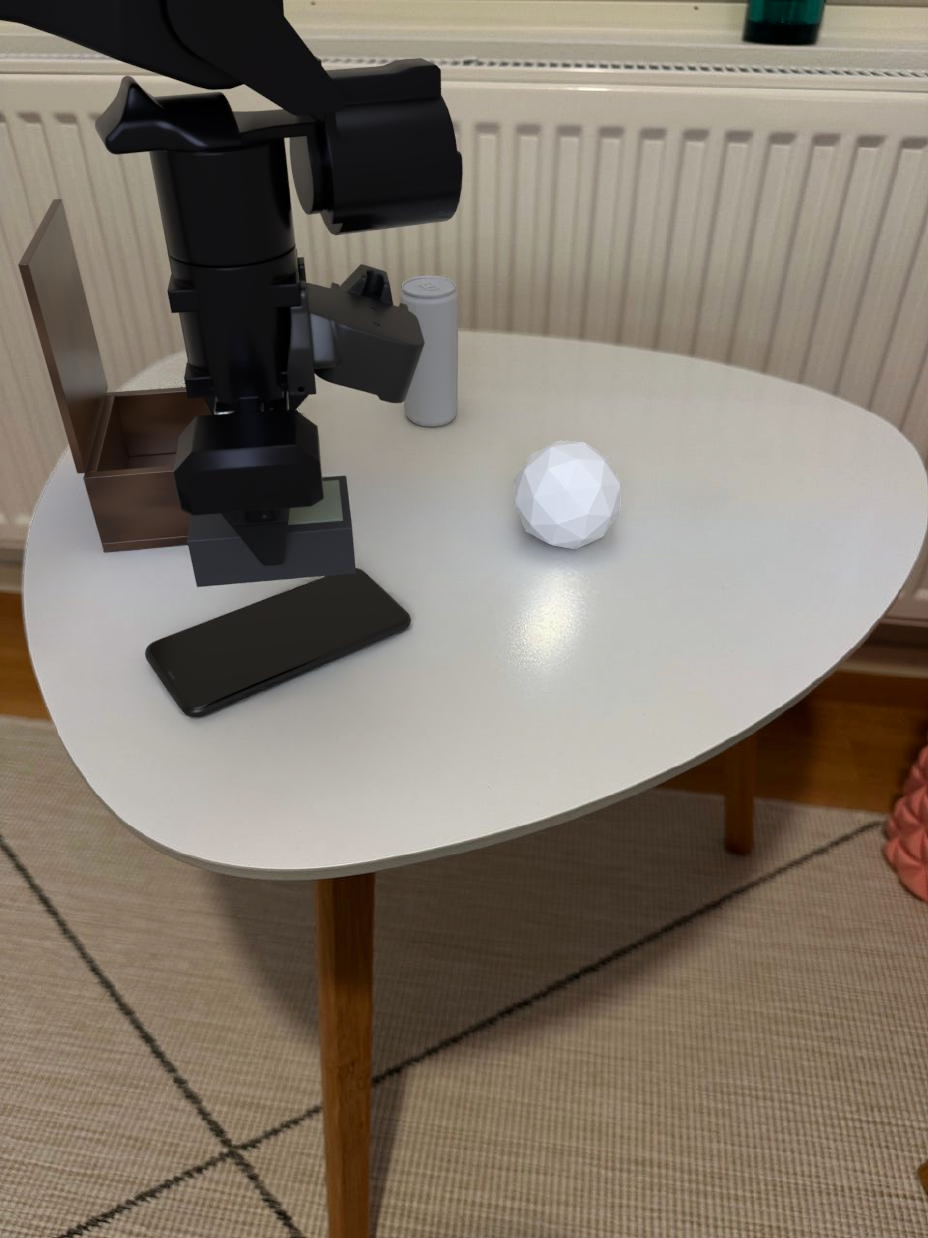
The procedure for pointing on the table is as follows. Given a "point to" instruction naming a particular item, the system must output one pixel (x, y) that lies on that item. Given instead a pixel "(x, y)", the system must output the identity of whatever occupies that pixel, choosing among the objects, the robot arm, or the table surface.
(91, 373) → the case lid
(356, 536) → the table surface
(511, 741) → the table surface
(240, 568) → the black lcd device
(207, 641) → the smartphone
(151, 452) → the case
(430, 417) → the beverage can
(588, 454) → the geometric ball
